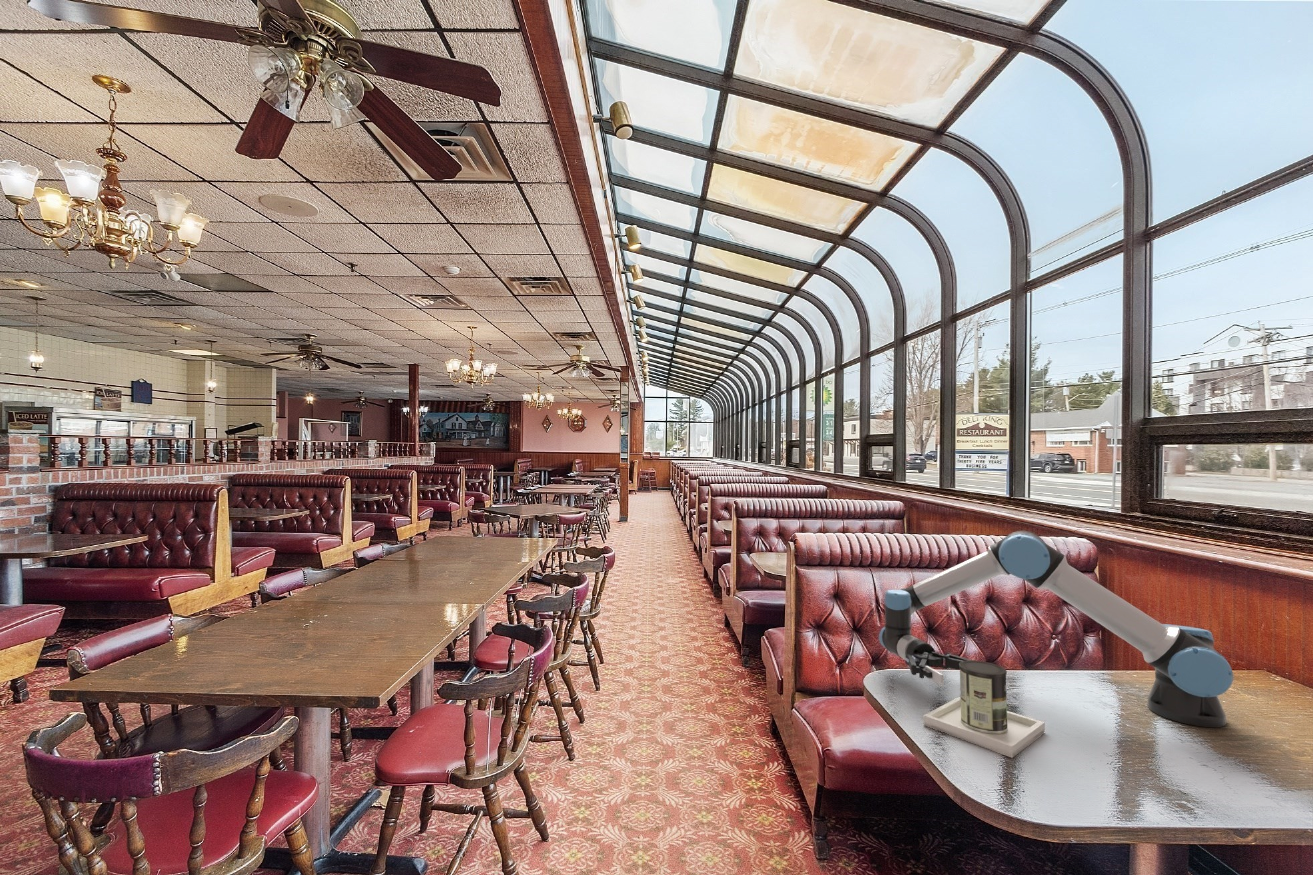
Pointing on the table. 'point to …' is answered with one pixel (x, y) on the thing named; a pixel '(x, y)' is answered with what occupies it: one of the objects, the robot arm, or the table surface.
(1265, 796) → the table surface
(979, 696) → the coffee can
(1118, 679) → the table surface
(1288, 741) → the table surface
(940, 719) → the serving tray
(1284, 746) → the table surface
